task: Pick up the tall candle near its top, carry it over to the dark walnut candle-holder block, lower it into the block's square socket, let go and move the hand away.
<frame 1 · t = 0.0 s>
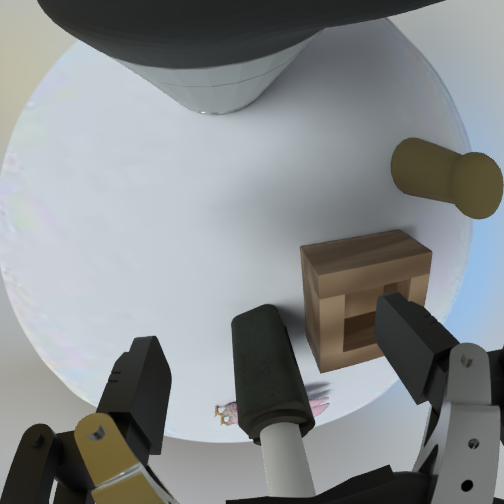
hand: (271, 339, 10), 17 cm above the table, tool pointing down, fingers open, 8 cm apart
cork: (413, 166, 26), on the table
pink rainbow-tailed figurine: (269, 399, 36), on the table
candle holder: (353, 285, 30), on the table
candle: (259, 326, 31), on the table
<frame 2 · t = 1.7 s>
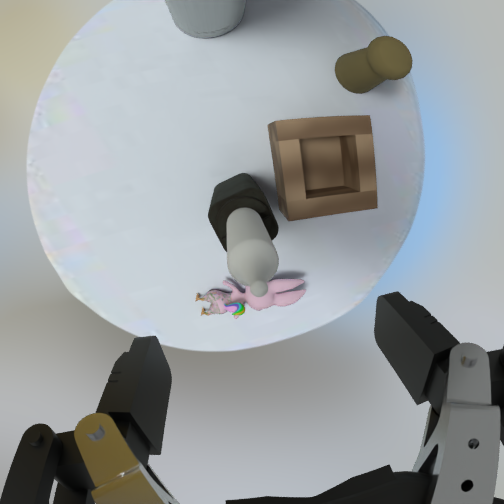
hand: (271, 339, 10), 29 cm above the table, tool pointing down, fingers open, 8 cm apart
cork: (354, 73, 32), on the table
pink rainbow-tailed figurine: (249, 289, 42), on the table
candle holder: (315, 162, 36), on the table
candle: (237, 196, 37), on the table
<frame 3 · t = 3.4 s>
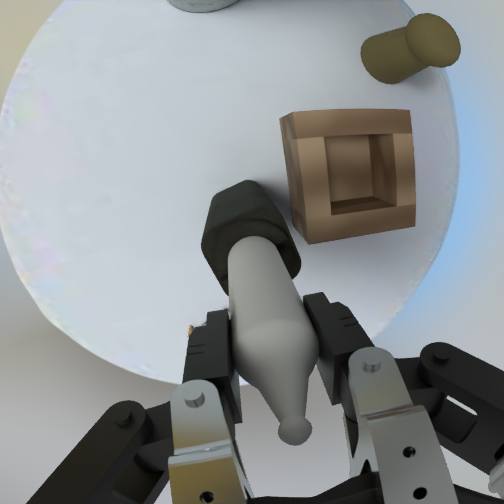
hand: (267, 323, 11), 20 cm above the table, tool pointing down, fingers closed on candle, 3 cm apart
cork: (383, 60, 24), on the table
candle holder: (338, 166, 28), on the table
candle: (241, 209, 29), on the table, touching gripper
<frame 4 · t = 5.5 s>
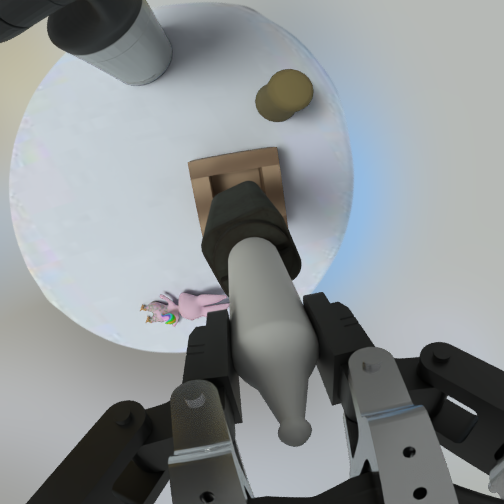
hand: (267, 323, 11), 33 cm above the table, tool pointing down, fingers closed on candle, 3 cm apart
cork: (276, 102, 38), on the table
pink rainbow-tailed figurine: (184, 301, 48), on the table
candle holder: (237, 190, 42), on the table
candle: (241, 209, 29), point 13 cm above the table, touching gripper
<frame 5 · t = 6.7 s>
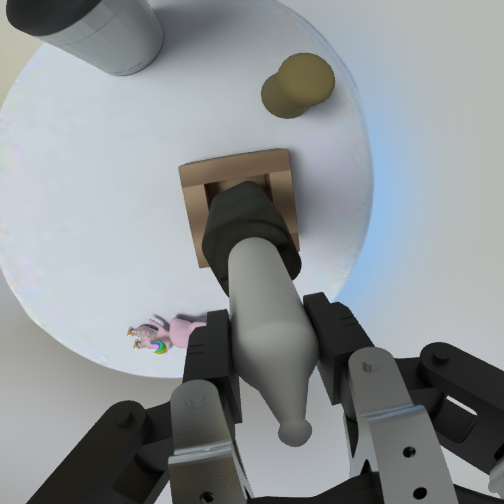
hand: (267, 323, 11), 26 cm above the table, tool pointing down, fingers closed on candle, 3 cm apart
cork: (285, 95, 31), on the table
pink rainbow-tailed figurine: (177, 326, 41), on the table
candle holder: (239, 199, 35), on the table
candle: (241, 209, 29), point 6 cm above the table, touching gripper
when the fingers open (22 cm above the table, at t = 7.8 s): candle drops 1 cm, resting on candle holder.
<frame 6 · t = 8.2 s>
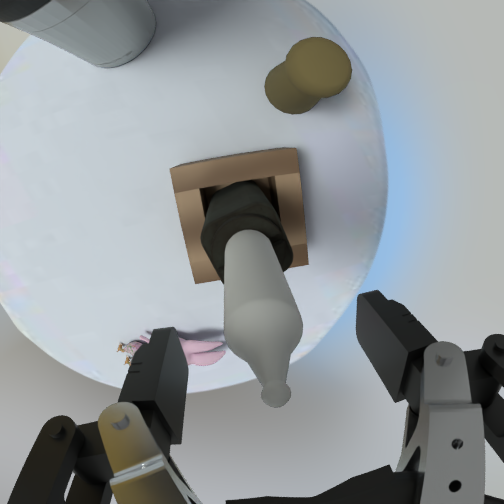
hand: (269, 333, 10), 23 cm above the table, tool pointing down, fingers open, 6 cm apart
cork: (292, 88, 28), on the table
pink rainbow-tailed figurine: (170, 342, 37), on the table
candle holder: (239, 205, 31), on the table
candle: (239, 206, 31), point 1 cm above the table, touching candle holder
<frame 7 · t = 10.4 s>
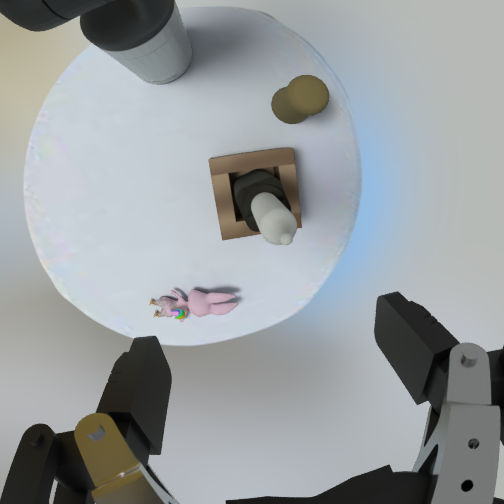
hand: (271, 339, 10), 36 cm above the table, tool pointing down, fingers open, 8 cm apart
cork: (291, 105, 40), on the table
pink rainbow-tailed figurine: (193, 298, 50), on the table
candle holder: (252, 187, 44), on the table
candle: (253, 188, 43), point 1 cm above the table, touching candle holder
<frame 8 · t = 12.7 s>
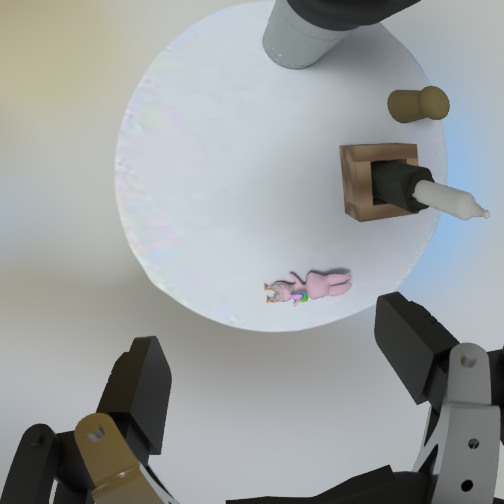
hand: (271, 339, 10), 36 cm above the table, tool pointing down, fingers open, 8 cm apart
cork: (401, 106, 41), on the table
pink rainbow-tailed figurine: (306, 282, 51), on the table
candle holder: (372, 176, 45), on the table
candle: (374, 177, 44), point 1 cm above the table, touching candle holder
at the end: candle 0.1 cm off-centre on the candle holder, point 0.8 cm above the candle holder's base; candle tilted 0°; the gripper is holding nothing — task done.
